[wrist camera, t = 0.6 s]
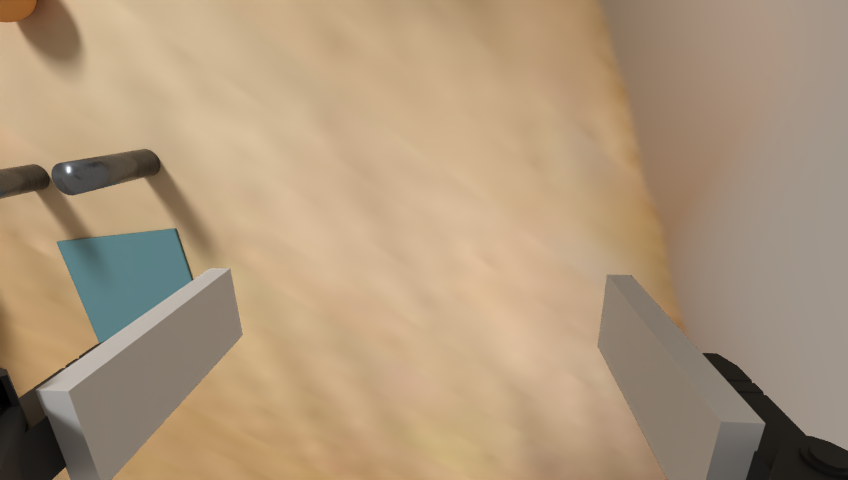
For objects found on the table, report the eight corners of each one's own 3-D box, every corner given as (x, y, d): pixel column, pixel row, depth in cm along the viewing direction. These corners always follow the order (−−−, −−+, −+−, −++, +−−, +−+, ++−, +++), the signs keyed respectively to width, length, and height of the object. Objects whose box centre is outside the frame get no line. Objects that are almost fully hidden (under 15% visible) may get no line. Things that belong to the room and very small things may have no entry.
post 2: (131, 150, 42) (46, 164, 33) (154, 147, 42) (75, 160, 33) (139, 176, 43) (59, 196, 34) (163, 173, 42) (88, 193, 34)
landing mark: (58, 241, 46) (56, 242, 46) (175, 228, 44) (174, 229, 44) (104, 352, 50) (103, 353, 50) (213, 344, 48) (212, 345, 48)
